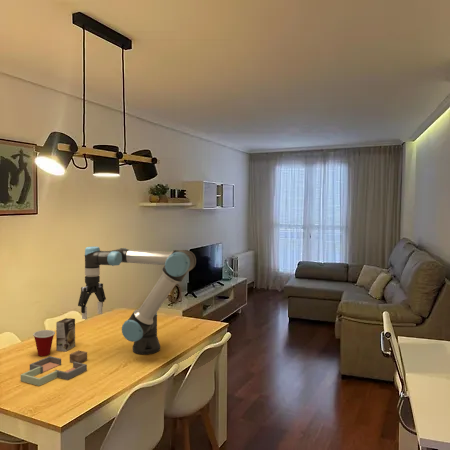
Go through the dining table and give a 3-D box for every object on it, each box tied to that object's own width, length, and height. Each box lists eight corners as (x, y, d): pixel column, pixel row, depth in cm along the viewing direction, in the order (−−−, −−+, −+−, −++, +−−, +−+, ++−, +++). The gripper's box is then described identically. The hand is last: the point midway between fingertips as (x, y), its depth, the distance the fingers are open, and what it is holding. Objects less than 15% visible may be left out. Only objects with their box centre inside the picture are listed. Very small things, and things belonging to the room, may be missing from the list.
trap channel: (86, 370, 193) (86, 364, 193) (49, 388, 173) (49, 382, 173) (49, 361, 204) (49, 356, 204) (10, 378, 184) (10, 371, 184)
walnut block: (87, 360, 206) (87, 352, 206) (78, 364, 201) (78, 355, 201) (78, 358, 209) (78, 350, 209) (69, 362, 203) (69, 354, 203)
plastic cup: (41, 359, 206) (40, 337, 206) (29, 355, 212) (28, 333, 212) (59, 353, 215) (59, 331, 215) (47, 349, 221) (47, 328, 221)
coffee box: (66, 351, 218) (66, 322, 218) (55, 350, 220) (55, 322, 219) (75, 346, 227) (75, 318, 227) (65, 345, 228) (65, 317, 228)
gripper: (102, 271, 224) (102, 310, 225) (70, 278, 203) (70, 320, 204) (112, 273, 221) (112, 312, 222) (81, 279, 200) (81, 322, 201)
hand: (92, 316), depth 213 cm, fingers open, 11 cm apart
